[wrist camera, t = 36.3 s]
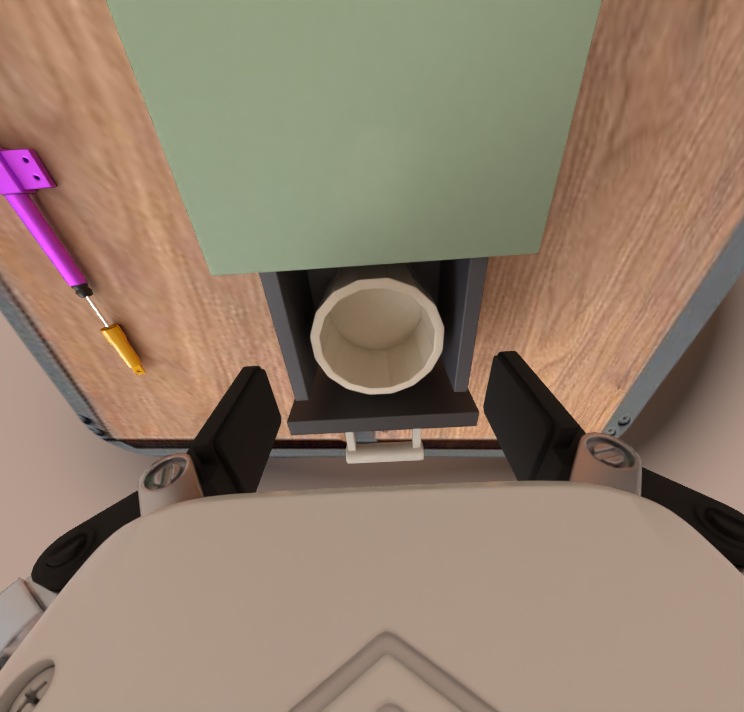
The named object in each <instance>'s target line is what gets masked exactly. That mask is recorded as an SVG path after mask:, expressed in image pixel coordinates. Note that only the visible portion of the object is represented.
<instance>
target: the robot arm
mask: <svg viewBox="0 0 744 712" xmlns="http://www.w3.org/2000/svg"><path fill="white" fill-rule="evenodd" d="M484 413H485V415H486V417H487V419H488V421H489V423H490V425H491V428H492V430H493V432H494V434H495V436H496V438H497V440H498V442H499V444H500V446H501V448H502V450H503V452H504V454H505V456H506V458H507V460H508V462H509V464H510V466H511V468H512V470H513V472H514V474H515V476H516V478H517V480H518V481H497V482H470V483H445V484H423V485H422V484H421V485H398V486H375V487H353V488H331V489H313V490H293V491H273V492H258V493H257V492H256V490H257V487H258V485H259V482H260V479H261V476H262V474H263V471H264V468H265V465H266V463H267V460H268V457H269V455H270V452H271V449H272V446H273V444H274V441H275V438H276V436H277V433H278V430H279V427H280V425H281V415H280V412H279V409H278V406H277V403H276V400H275V398H274V395H273V392H272V389H271V386H270V383H269V380H268V377H267V374H266V371H265V370H264V369H261V368H260V367H259V366H249V367H243V368H242V370H241V371H240V373H239V374H238V376H237V377H236V379H235V380H234V382H233V383H232V385H231V386H230V388H229V389H228V390H227V392H226V393H225V395H224V396H223V398H222V399H221V401H220V402H219V404H218V405H217V407H216V408H215V410H214V411H213V413H212V414H211V416H210V417H209V418H208V420H207V421H206V423H205V424H204V426H203V427H202V429H201V430H200V432H199V433H198V435H197V436H196V438H195V439H194V441H193V442H192V444H191V445H190V448H189V450H188V451H187V453H186V454H185V453H175V454H170V455H168V456H166V457H163V458H161V459H160V460H158V461H156V462H155V463H153V464H152V465H151V466H150V467H149V468H147V470H146V471H145V472H144V473H143V474H142V476H141V478H140V480H139V481H138V491H136V492H134V493H132V494H131V495H129V496H128V497H126V498H124V499H122V500H121V501H119V502H117V503H116V504H114V505H112V506H111V507H109V508H107V509H105V510H104V511H102V512H100V513H99V514H97V515H95V516H94V517H92V518H90V519H89V520H87V521H85V522H83V523H82V524H80V525H79V526H77V527H75V528H73V529H72V530H70V531H68V532H67V533H66V534H64V535H63V536H61V537H59V538H58V539H57V540H56V541H55V542H54V543H52V544H51V545H50V546H49V547H48V548H47V549H46V550H45V551H44V552H43V553H42V555H41V556H40V557H39V558H38V560H37V562H36V563H35V565H34V567H33V570H32V573H31V576H29V577H28V578H27V579H26V580H23V579H21V578H19V579H18V580H16V581H15V582H14V583H12V584H11V585H10V586H9V587H7V588H6V589H5V590H4V591H2V592H1V593H0V712H744V515H743V514H742V513H740V512H739V511H737V510H735V509H733V508H731V507H729V506H727V505H725V504H723V503H721V502H719V501H717V500H714V499H712V498H710V497H708V496H705V495H703V494H701V493H699V492H697V491H694V490H692V489H690V488H688V487H685V486H683V485H681V484H679V483H677V482H674V481H672V480H670V479H668V478H665V477H663V476H660V475H659V474H656V473H654V472H652V471H650V470H647V469H645V468H643V467H642V462H641V458H640V457H639V455H638V454H637V452H636V451H635V450H634V449H633V448H632V447H631V446H629V445H628V444H626V443H625V442H623V441H622V440H620V439H618V438H615V437H613V436H611V435H607V434H604V433H596V432H593V433H587V434H586V433H585V432H584V431H583V429H582V428H581V427H580V425H579V424H578V423H577V422H576V421H575V420H574V418H573V417H572V416H571V415H570V414H569V413H568V411H567V410H566V409H565V408H564V407H563V406H562V404H561V403H560V402H559V401H558V400H557V399H556V397H555V396H554V395H553V394H552V393H551V392H550V390H549V389H548V388H547V387H546V386H545V385H544V383H543V382H542V381H541V380H540V379H539V377H538V376H537V375H536V374H535V373H534V372H533V370H532V369H531V368H530V367H529V366H528V365H527V363H526V362H525V361H524V360H523V359H522V358H521V356H520V355H519V354H518V353H517V352H516V351H504V352H499V353H498V355H497V356H494V358H493V362H492V367H491V372H490V377H489V381H488V386H487V391H486V396H485V401H484Z"/></svg>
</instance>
